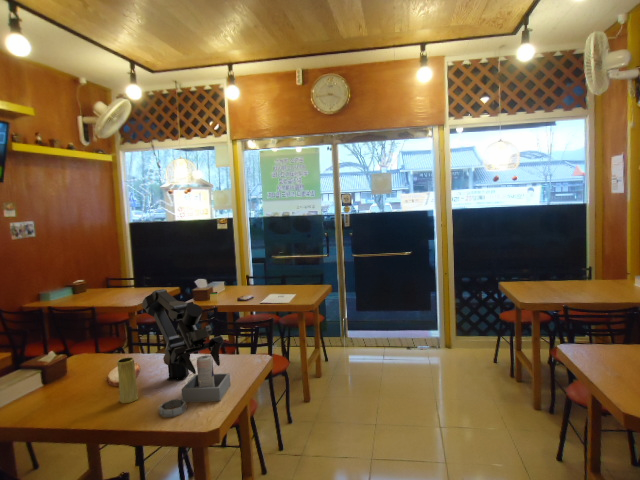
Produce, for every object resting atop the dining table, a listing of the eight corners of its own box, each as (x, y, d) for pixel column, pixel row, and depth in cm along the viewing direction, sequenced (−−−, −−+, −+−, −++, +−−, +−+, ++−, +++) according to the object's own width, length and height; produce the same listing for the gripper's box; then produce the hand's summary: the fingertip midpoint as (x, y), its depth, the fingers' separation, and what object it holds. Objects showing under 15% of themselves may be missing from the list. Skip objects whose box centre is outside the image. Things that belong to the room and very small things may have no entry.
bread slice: (123, 389, 160) (122, 379, 160) (91, 383, 168) (90, 373, 168) (160, 371, 176) (159, 362, 176) (129, 366, 184) (128, 358, 184)
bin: (182, 402, 145) (181, 389, 144) (196, 386, 158) (195, 374, 157) (220, 401, 144) (219, 388, 143) (230, 385, 157) (229, 373, 156)
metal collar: (156, 417, 135) (155, 410, 135) (166, 406, 142) (166, 399, 142) (180, 416, 134) (179, 410, 134) (189, 405, 142) (188, 399, 142)
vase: (120, 405, 145) (116, 364, 144) (119, 398, 151) (115, 359, 150) (139, 400, 148) (135, 360, 147) (137, 394, 154) (134, 355, 153)
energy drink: (215, 387, 154) (212, 354, 153) (214, 393, 149) (211, 359, 148) (200, 388, 153) (197, 356, 152) (198, 395, 148) (195, 361, 147)
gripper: (170, 325, 145) (188, 364, 138) (219, 314, 158) (238, 349, 151) (163, 344, 152) (179, 382, 144) (210, 331, 164) (227, 366, 157)
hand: (207, 369), depth 149 cm, fingers open, 9 cm apart
